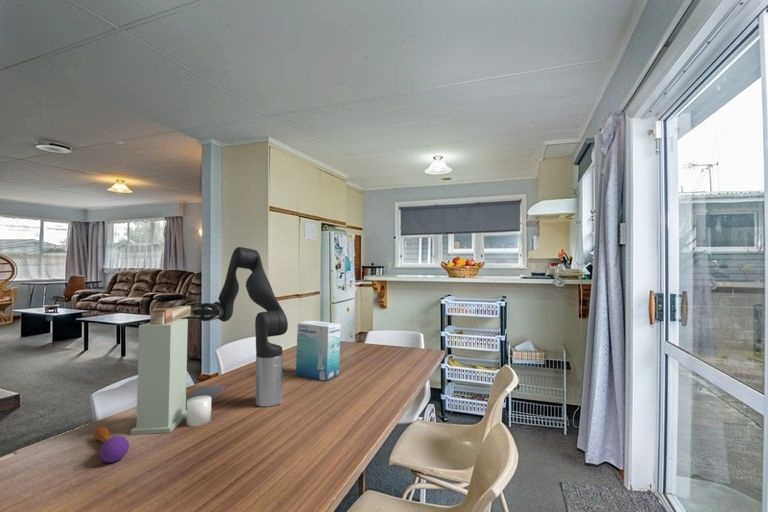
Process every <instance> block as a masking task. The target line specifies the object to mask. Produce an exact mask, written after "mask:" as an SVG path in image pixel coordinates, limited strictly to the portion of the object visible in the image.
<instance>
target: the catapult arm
mask: <svg viewBox="0 0 768 512" xmlns="http://www.w3.org/2000/svg"><path fill="white" fill-rule="evenodd" d="M191 306H192V305H178V306H174V307H171V308H170V307H169V308H168V307H167V308H166V307H162V308H161V307H160V308H159V307H158V308H153V309H150V319H149V320H150V324H151V325H163V324H167V323H170V322H172V321H175V320H178V319H185V318H187V317H191V316H190V312H191V308H192V307H191Z"/></svg>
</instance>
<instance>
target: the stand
mask: <svg viewBox="0 0 768 512" xmlns="http://www.w3.org/2000/svg"><path fill="white" fill-rule="evenodd" d="M188 321H189V320H188V319H187V318H181V319H178V320H175V321H172V322H170V323H167V324H163V325H151V324H150V322H147V323H143V324H139V325H138V347H137V349H138V351H137V352H138V353H137V354H138V356H137V389H136V390H137V392H136V395H137V397H136V426H135V427H133V428H132V429H130V435H144V434H145V435H146V434H165V433H168V434H169V433H172V431H174V429H176V428H177V427H178V425H179V424H181V423H182V422H183V421H184V420H185V419H187V410H186V397H187V375H188V374H187V369H188V331H189V328H188V327H189V326H188V323H189V322H188Z"/></svg>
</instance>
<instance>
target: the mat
mask: <svg viewBox="0 0 768 512" xmlns="http://www.w3.org/2000/svg"><path fill="white" fill-rule="evenodd" d="M225 388H226V385H208V386H207V385H206V386H203V385H202V386H198V387H197V388H196V389H194V390H193V391H192V392H191V393H190V394H189V395H187V396H186V410H187V400H189V399H190V398H193V397H197V396H210V397H211V403H212V402H213V401H214V400H215V399H216V398H217V397H218V395H220V394H221V392H222V391H223V390H225Z"/></svg>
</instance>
